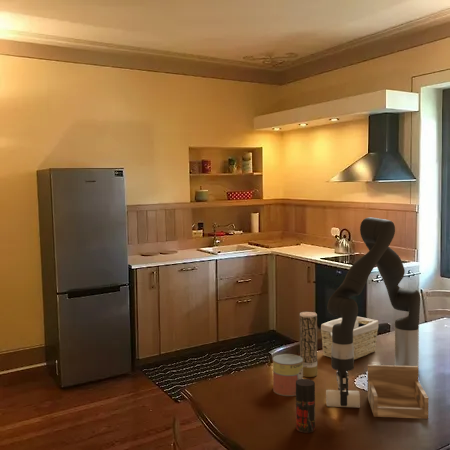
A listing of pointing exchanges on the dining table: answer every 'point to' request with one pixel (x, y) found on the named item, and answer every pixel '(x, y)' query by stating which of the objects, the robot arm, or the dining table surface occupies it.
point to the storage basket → (361, 336)
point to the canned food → (286, 373)
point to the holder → (396, 392)
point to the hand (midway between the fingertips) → (342, 400)
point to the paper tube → (308, 343)
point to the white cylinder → (334, 398)
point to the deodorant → (305, 405)
